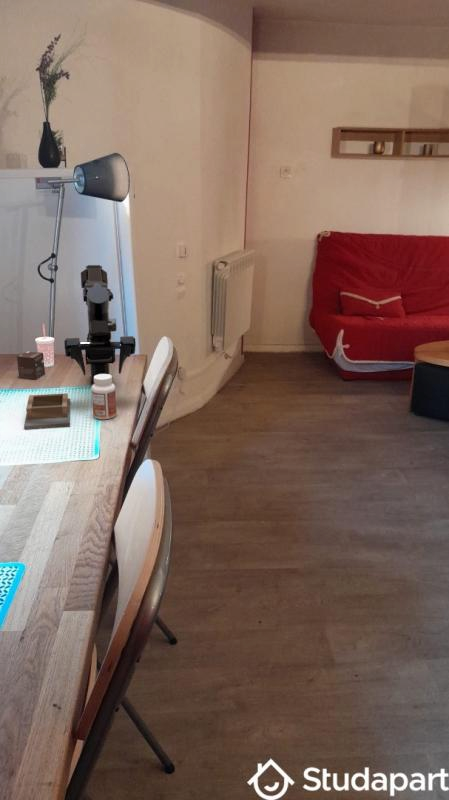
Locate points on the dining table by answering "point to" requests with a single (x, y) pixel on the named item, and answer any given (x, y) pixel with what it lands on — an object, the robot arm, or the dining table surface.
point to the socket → (47, 411)
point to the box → (31, 365)
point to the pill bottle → (103, 397)
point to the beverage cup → (46, 348)
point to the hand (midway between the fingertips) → (102, 373)
